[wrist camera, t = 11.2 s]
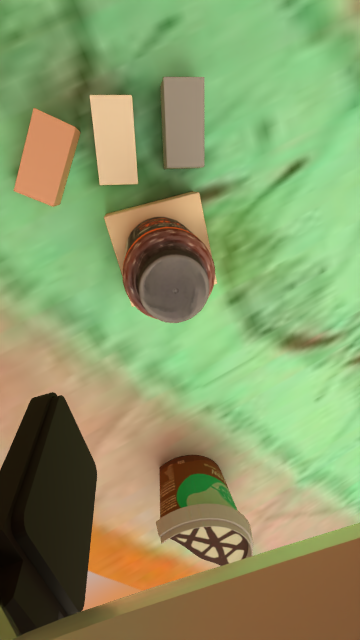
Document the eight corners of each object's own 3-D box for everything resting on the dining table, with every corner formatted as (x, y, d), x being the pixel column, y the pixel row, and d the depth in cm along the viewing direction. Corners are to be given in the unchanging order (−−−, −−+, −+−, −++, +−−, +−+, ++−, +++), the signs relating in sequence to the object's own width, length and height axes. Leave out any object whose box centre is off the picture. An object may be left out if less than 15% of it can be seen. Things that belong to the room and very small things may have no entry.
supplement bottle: (190, 210, 28) (226, 227, 18) (197, 279, 30) (232, 330, 20) (118, 220, 27) (111, 244, 17) (131, 289, 30) (132, 347, 19)
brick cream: (93, 103, 27) (89, 95, 24) (131, 103, 27) (131, 95, 24) (102, 184, 29) (99, 185, 26) (137, 183, 30) (138, 184, 27)
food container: (249, 476, 45) (280, 552, 36) (216, 503, 46) (238, 584, 37) (186, 430, 40) (202, 503, 31) (150, 462, 42) (157, 541, 32)
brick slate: (160, 87, 27) (163, 76, 24) (196, 87, 27) (204, 77, 25) (163, 169, 29) (167, 167, 27) (197, 168, 30) (204, 166, 27)
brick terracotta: (43, 115, 27) (33, 107, 24) (80, 132, 27) (75, 127, 25) (24, 189, 28) (13, 190, 26) (60, 204, 29) (53, 206, 27)
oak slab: (106, 213, 30) (103, 217, 27) (192, 191, 30) (199, 192, 27) (131, 296, 33) (132, 306, 30) (209, 275, 33) (217, 283, 31)
